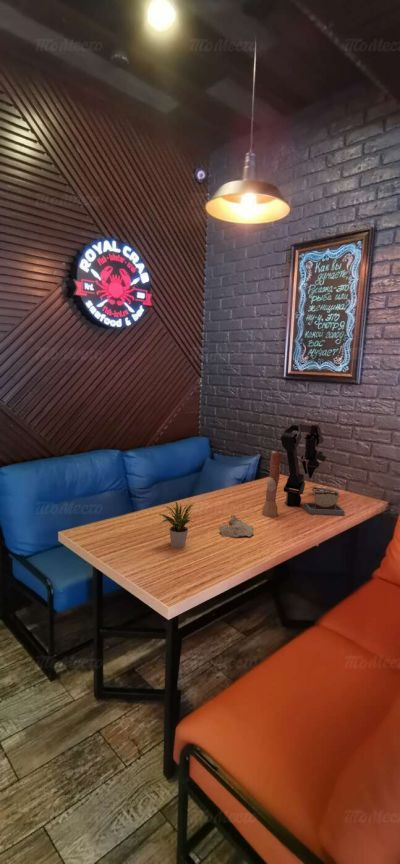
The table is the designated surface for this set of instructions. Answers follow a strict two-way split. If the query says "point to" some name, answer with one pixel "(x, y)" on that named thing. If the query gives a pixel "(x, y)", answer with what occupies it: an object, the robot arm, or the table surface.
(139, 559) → the table surface
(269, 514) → the tall figurine
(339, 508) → the grey tray
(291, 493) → the robot arm
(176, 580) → the table surface
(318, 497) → the food container
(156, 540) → the table surface
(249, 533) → the coral
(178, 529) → the house plant
